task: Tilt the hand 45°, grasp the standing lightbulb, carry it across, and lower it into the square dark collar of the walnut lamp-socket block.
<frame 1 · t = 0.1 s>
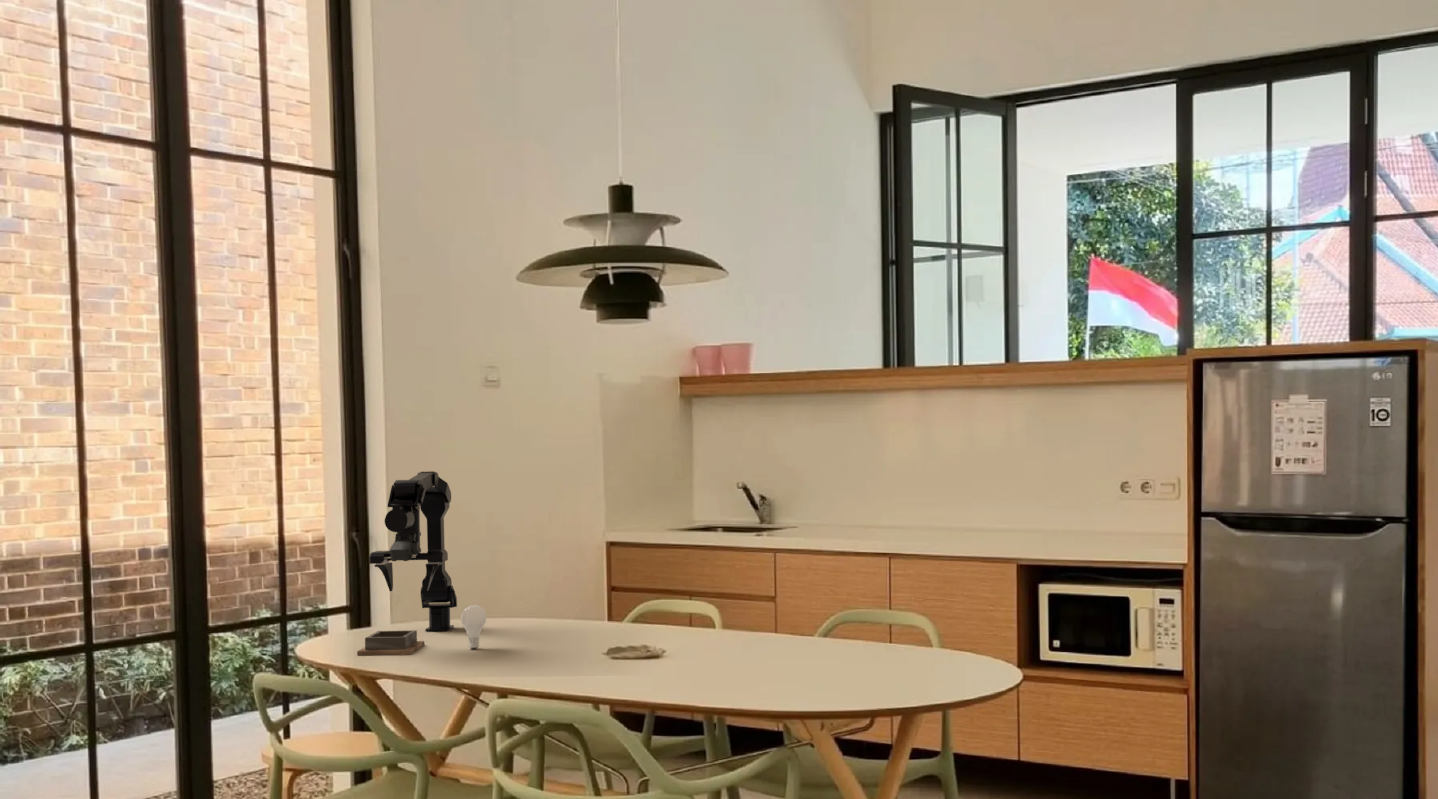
hand: (409, 590, 302), 15 cm above the table, tool pointing down, fingers open, 9 cm apart
lightbulb: (474, 649, 299), on the table
socket block: (391, 650, 300), on the table
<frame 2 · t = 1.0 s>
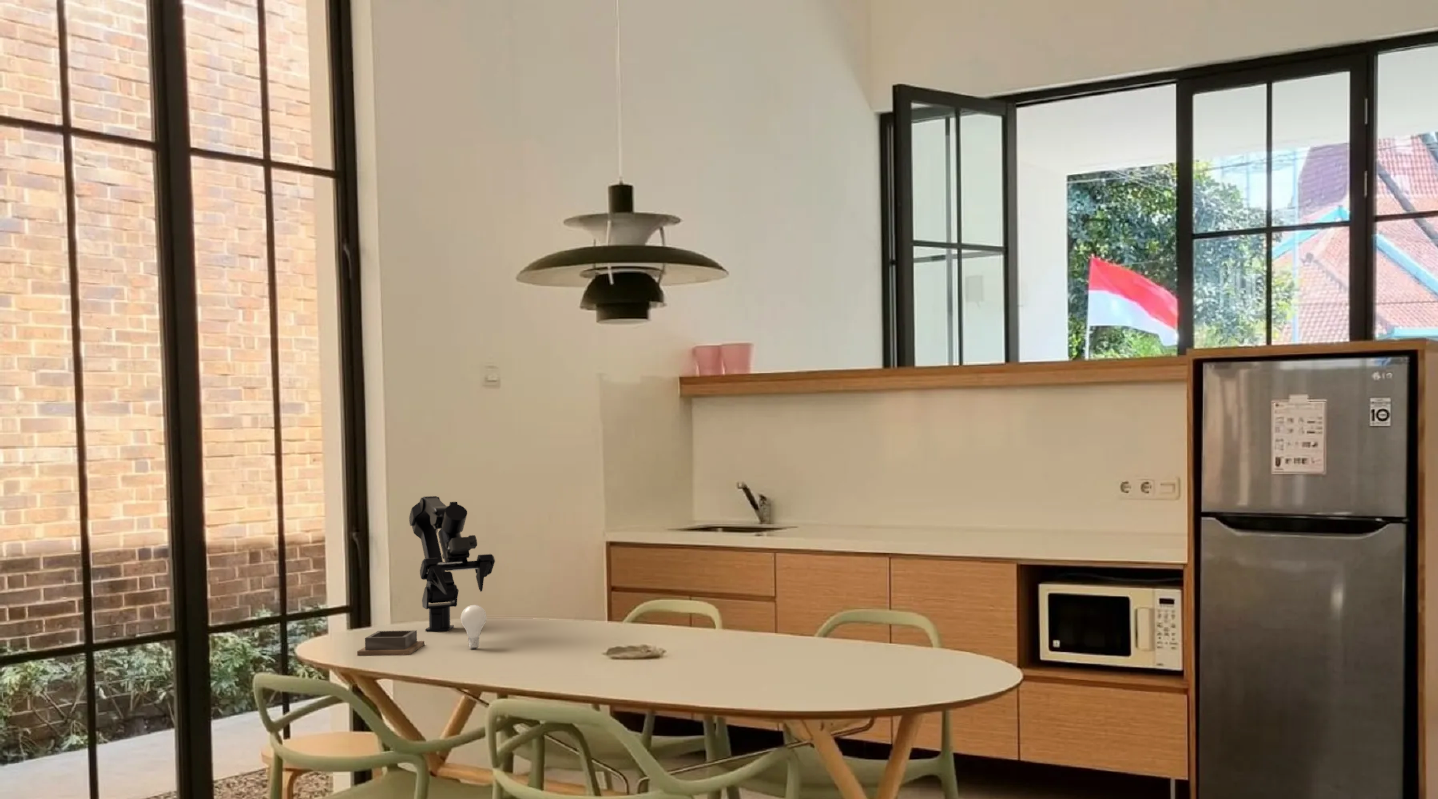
hand: (464, 592, 307), 13 cm above the table, tool tilted 45°, fingers open, 9 cm apart
nothing on the table moved.
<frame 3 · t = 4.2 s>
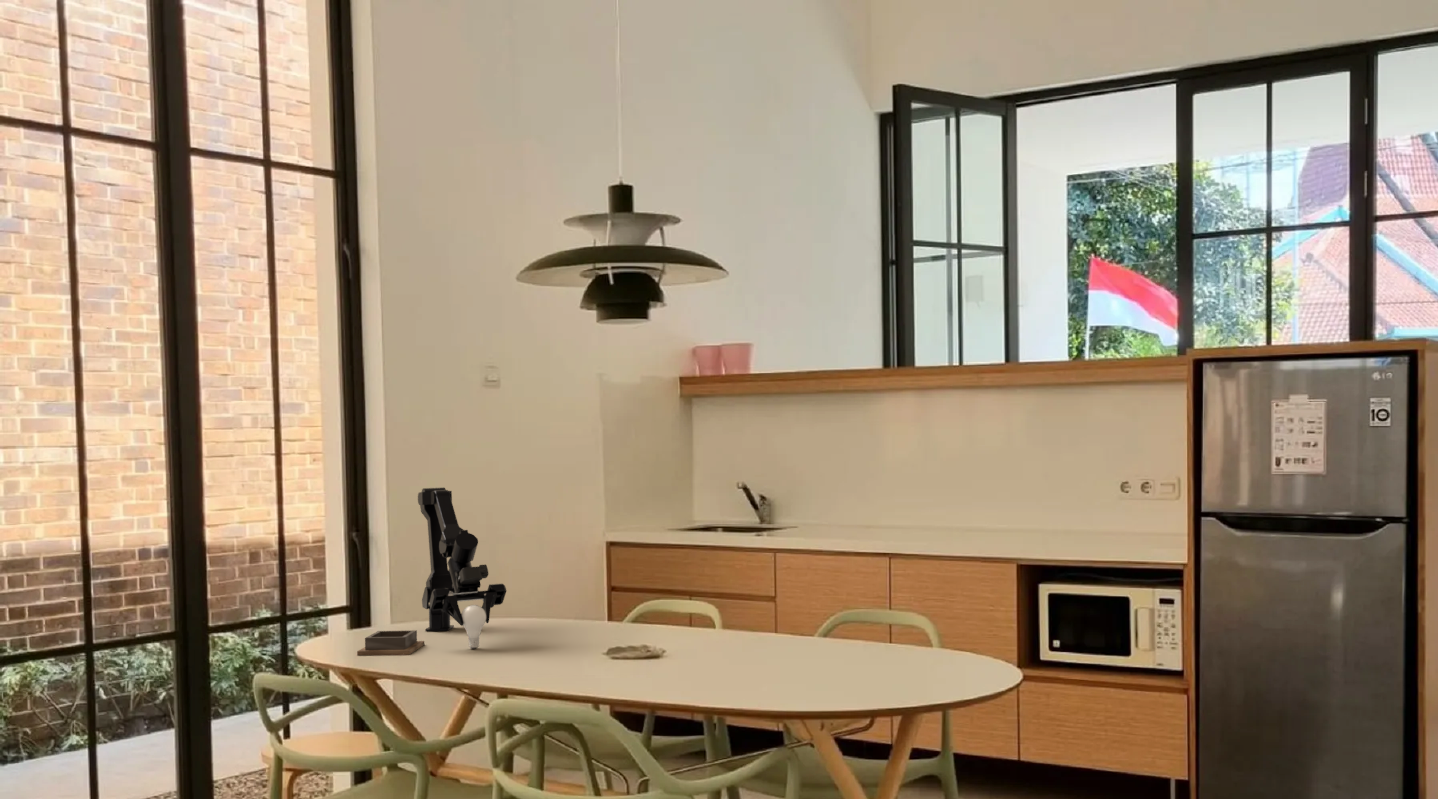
hand: (475, 623, 298), 7 cm above the table, tool tilted 45°, fingers closed on lightbulb, 6 cm apart
lightbulb: (474, 649, 299), on the table, touching gripper
when the fingers open (9 cm above the table, at t = 9.2 s): lightbulb drops 1 cm, resting on socket block.
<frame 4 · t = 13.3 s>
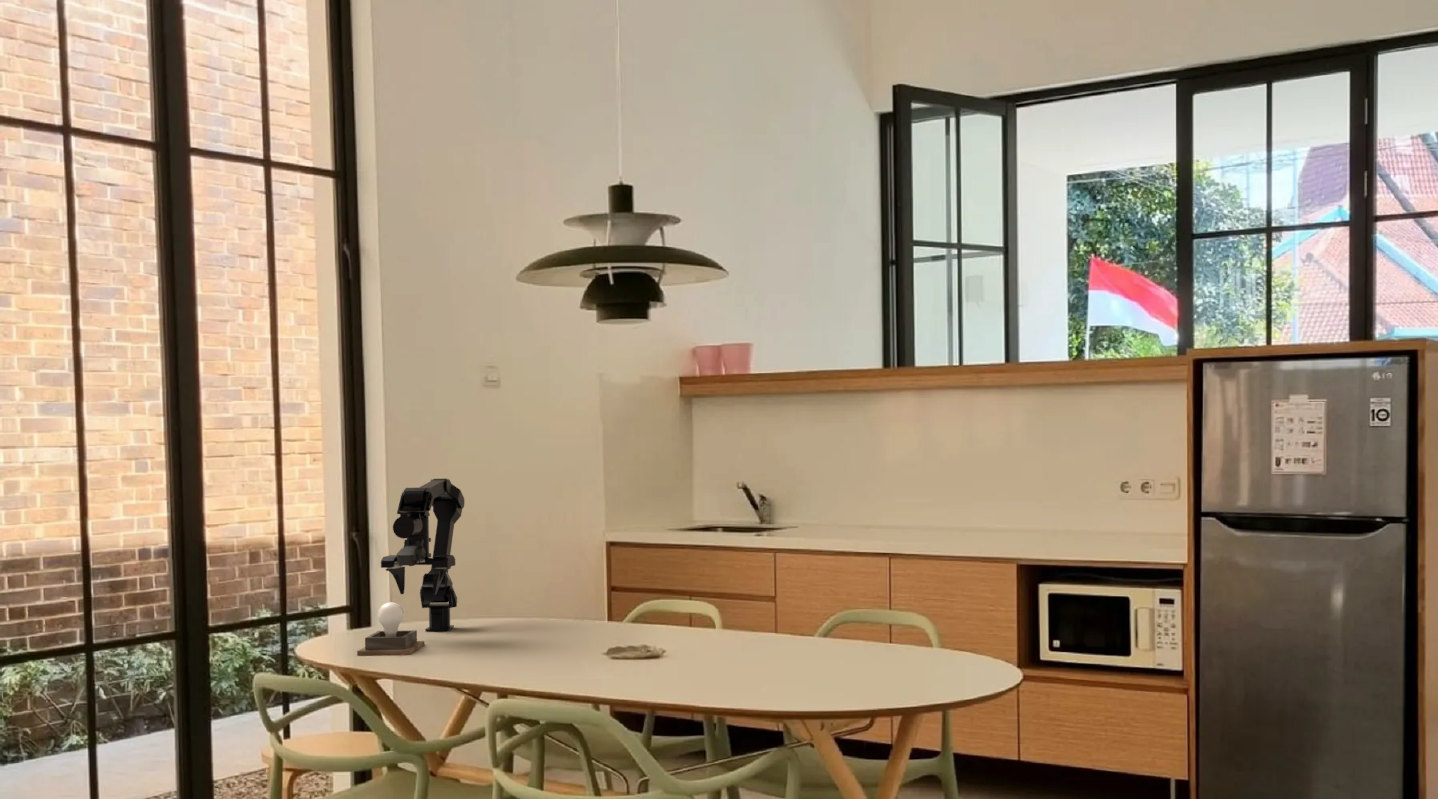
hand: (418, 594, 314), 12 cm above the table, tool pointing down, fingers open, 9 cm apart
lightbulb: (390, 646, 301), point 1 cm above the table, touching socket block
at the end: lightbulb 0.3 cm off-centre on the socket block, point 0.8 cm above the socket block's base; lightbulb tilted 0°; the gripper is holding nothing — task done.
